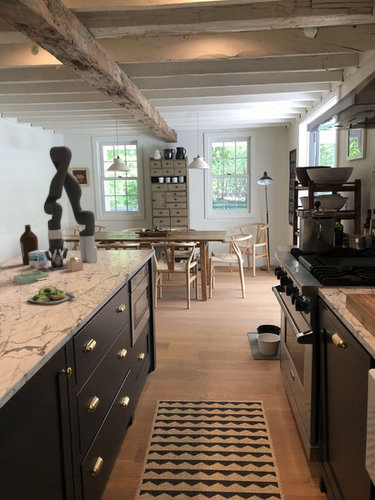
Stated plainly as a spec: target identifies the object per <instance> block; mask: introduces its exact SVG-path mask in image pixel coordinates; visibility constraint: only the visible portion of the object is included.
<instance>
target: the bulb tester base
mask: <svg viewBox="0 0 375 500" xmlns="http://www.w3.org/2000/svg"><path fill="white" fill-rule="evenodd" d="M36 269H37V270H32V271H31V273H32V272H38V271H41V272H45V273H51V272H52V273H53V272H57V271H62V270H63V271H64V270H67V265H63V266H62V267H61V268H53V267H52V266H48V267H47V266H45V267H42V268H36Z"/></svg>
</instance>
